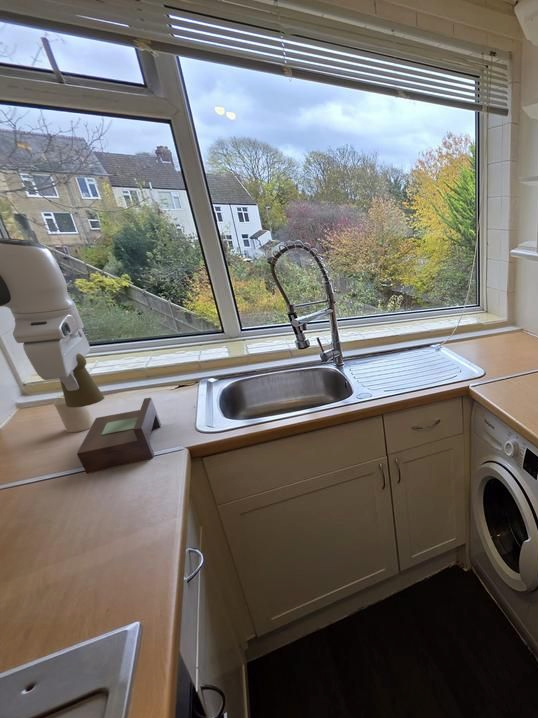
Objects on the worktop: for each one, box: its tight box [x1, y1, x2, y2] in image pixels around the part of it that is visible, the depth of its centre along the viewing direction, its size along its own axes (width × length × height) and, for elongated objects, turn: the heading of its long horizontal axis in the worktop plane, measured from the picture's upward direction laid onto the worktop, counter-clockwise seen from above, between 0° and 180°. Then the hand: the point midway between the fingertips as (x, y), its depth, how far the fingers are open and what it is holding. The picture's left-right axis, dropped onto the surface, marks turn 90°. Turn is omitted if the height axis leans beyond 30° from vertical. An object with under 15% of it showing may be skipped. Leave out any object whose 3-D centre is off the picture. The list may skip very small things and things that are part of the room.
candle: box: [53, 394, 95, 433], centre depth 110 cm, size 6×6×10 cm
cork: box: [59, 354, 105, 408], centre depth 88 cm, size 6×6×11 cm
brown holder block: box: [76, 397, 162, 474], centre depth 102 cm, size 12×20×8 cm, turn 34°
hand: (78, 384), depth 88 cm, fingers closed on cork, 4 cm apart
